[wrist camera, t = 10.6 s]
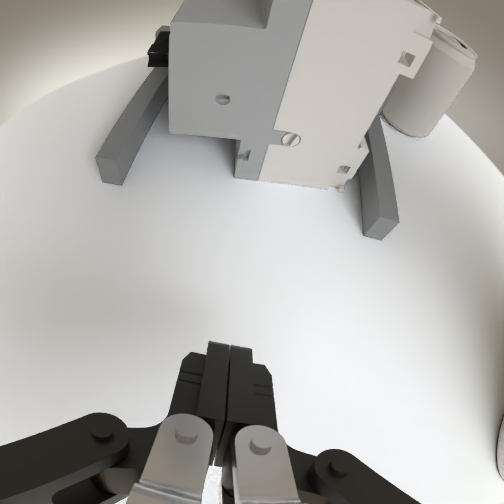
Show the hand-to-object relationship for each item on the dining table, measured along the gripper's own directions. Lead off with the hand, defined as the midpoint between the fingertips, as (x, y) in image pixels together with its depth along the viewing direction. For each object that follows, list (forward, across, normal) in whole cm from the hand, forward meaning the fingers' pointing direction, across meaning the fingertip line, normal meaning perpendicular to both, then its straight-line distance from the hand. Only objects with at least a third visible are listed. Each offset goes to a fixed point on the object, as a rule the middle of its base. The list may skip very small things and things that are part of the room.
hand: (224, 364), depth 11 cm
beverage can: (+24, -15, -15) cm, 32 cm away
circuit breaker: (+16, +1, -8) cm, 18 cm away
